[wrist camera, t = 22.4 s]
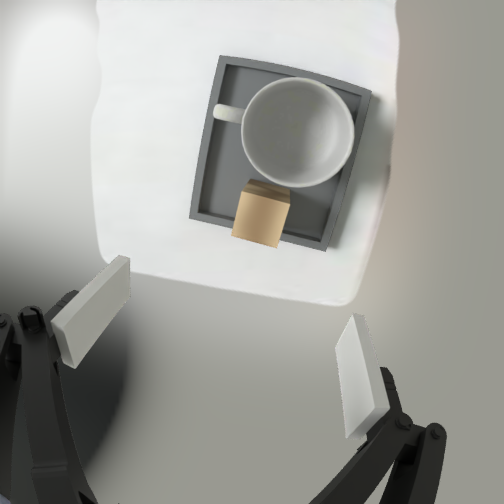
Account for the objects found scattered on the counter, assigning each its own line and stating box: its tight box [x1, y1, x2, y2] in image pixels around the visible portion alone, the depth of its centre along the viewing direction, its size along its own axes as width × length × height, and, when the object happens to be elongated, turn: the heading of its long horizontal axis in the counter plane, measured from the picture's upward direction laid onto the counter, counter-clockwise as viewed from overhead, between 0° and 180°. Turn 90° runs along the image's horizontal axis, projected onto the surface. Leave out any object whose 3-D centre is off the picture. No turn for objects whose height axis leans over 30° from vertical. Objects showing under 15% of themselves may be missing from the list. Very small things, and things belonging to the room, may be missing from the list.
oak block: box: [231, 179, 290, 248], centre depth 33 cm, size 5×5×7 cm
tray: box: [189, 55, 372, 252], centre depth 33 cm, size 21×18×2 cm
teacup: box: [213, 77, 355, 188], centre depth 28 cm, size 14×11×8 cm
